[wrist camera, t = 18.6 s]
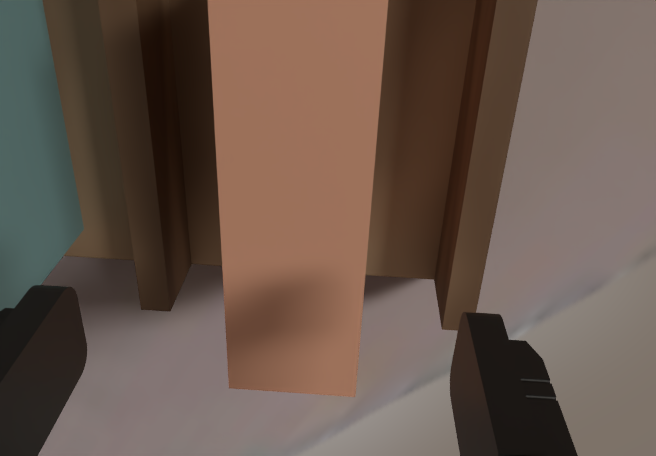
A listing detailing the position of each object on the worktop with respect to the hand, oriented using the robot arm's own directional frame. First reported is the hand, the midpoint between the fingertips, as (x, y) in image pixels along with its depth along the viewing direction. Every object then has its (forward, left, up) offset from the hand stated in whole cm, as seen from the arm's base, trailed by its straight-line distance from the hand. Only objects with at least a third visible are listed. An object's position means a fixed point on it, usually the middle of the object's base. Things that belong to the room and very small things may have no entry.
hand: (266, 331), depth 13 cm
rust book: (0, 0, -13) cm, 13 cm away
